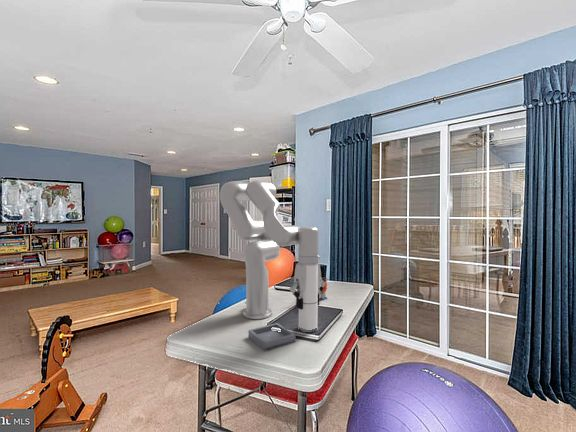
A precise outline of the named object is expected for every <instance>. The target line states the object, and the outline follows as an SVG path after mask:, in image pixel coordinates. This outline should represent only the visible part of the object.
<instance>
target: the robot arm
mask: <svg viewBox="0 0 576 432" xmlns="http://www.w3.org/2000/svg"><path fill="white" fill-rule="evenodd" d="M276 195H277V188H276V186H275V184H273V183H272V182H270V181H265V180H252V181H249V182H247V181H246V182H245V181H228V182H226V183H224V184H223V185H222V186H221V188H220V192H219V200H220V203H221V206H222V208H223V210H224V211H225V212H226V214H227V216H228V217H229V219H230V221H231V224H232V226H233V228H234V231H236V235H237V236H238V238H239V239H240V240H241V241H242V242H249V243H247V244H246V245H245V247H244V249H243V258H244V263H245V279H246V281H245V287H246V289H245V290H246V291H245V294H246V295H245V296H246V297H245V298H246V299H245V300H246V301H245V302H244V303H245V306H246V307H245V309H244V310H243V311H242V316H243V317H244V318H246V319H248V320H249V319H250V320H261V319H266V318H270V317H271V316H272V315H273V310H272V309H271V308H269V305H270V303H269V301H270V300H269V295H270V294H269V285H270V284H269V282H270V281H269V280H270V279H269V270H268V267H267V265H266V262H270V261H273V260H276V259H277V258H279V256H280V255H281V247H288V246H294V245H295V246H296V245H298V247H297V248H298V253H297V254H298V255H297V256H298V257H297V258H298V259H297V260H298V263H296V265H295V269H294V277H293V284H292V285H291V286H290V287H289V291H290V292H291V294H292V295H293V296H294V297H295V300H296V301H295V303H296V304H295V305H296V308H297V309H298V310H299V309H303V299H302V295H303V292H304V291H305V288H306V266H312V265H318V306H320V300H321V299H320V295H321V291H322V290H323V287H324V286H325V284H326V283H325V282H324V281H323V280H322V271H321V265H320V262H319V259H320V258H321V256H320V255H319V229H318V228H317V227H315V226H301V225H284V224H282V223H281V221H280V219H278V218H277V216H276V214H277V213H278V212H279V211H280V208H281V204H280V202H279V201H278V200H277V198H276ZM240 201H244V202H245V201H246V202H247V201H249V202H252V204H253V205H254V206H255V207H256V209H257V210H258V211H259V213H260V214H261V216H262V219H260V218H253V217H251V215H250V213H249V211H248V209H247V208H246V206H244V205H243V203H241V202H240ZM302 278H303V279H302ZM299 288H300V289H299ZM299 291H300V294H299Z"/></svg>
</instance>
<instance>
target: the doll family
mask: <svg viewBox="0 0 576 432" xmlns="http://www.w3.org/2000/svg"><path fill="white" fill-rule="evenodd" d="M321 279H322V280H323V281H324V282H325V283H326V284H325V286H324V287H323V290H322V291H321V294H320V300H321V301H325V300H328V296H327V295H326V292H327V289H328V279H327V277H326V276H324V277H321Z"/></svg>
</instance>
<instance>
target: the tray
mask: <svg viewBox="0 0 576 432" xmlns="http://www.w3.org/2000/svg"><path fill="white" fill-rule="evenodd" d="M272 327H278V328H280V329H281V332H278V331H271V328H272ZM248 338H249V339H250V340H251V341H252V342H254V343H255V344H256V345H257V346H258V347H259V348H261V349H262V350H263V351H264V352H267V351H270V350H273V349H276V348H279V347H283V346H285V345H289V344H292V343H293V344H294V343H296V334H295V333H294V332H292V331H291V330H289V329H288V328H287V327H285V326H283V325H281V324H280V323H278V322H275V323H270V324H267V325H264V326H260V327H256V328H252V329H248Z"/></svg>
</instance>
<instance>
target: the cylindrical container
mask: <svg viewBox="0 0 576 432" xmlns="http://www.w3.org/2000/svg"><path fill="white" fill-rule="evenodd" d="M302 279H303V278H302ZM299 289H300V288H299ZM299 294H300V291H299ZM302 299H303V309H299V308H298V328H299V327H300V328H303V329H306V330H312V329H315V328H317V329H318V309H319V308H318V306H319V305H318V265H312V266H306V288H305V291H304V292H303V295H302Z"/></svg>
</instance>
